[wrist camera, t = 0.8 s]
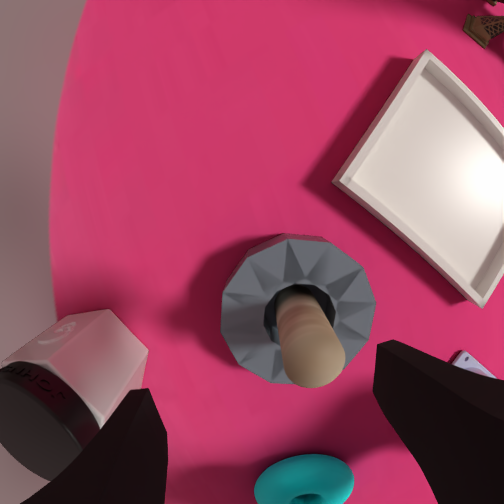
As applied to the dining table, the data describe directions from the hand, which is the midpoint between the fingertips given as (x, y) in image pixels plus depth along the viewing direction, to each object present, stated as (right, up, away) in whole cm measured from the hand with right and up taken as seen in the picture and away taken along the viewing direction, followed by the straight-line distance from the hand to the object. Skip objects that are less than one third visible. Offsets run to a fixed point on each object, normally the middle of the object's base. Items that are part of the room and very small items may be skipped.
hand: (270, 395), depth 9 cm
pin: (+3, +1, +14) cm, 14 cm away
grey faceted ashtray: (+3, +1, +14) cm, 14 cm away
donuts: (+5, -19, +18) cm, 26 cm away
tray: (+15, +10, +12) cm, 22 cm away
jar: (-13, -4, +15) cm, 21 cm away
